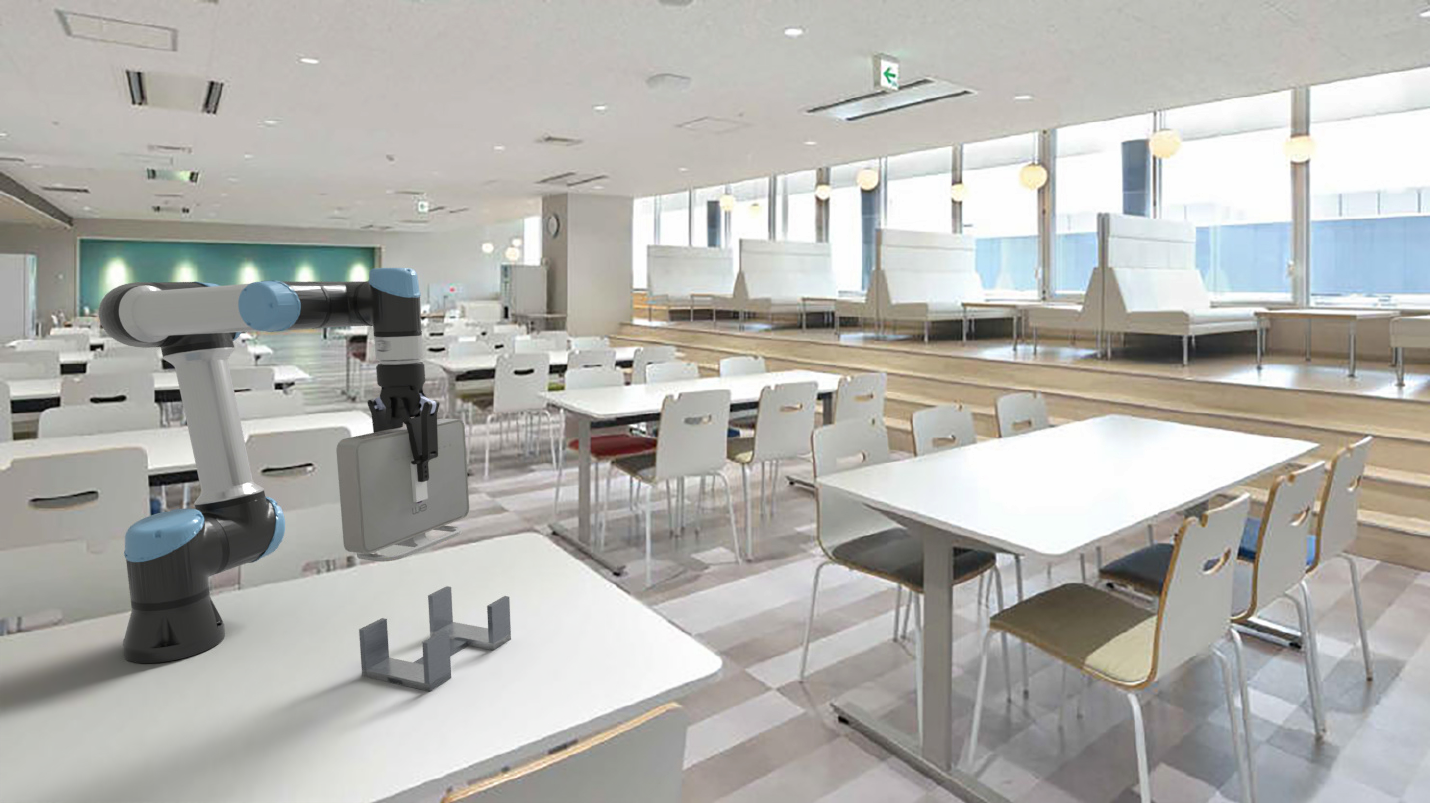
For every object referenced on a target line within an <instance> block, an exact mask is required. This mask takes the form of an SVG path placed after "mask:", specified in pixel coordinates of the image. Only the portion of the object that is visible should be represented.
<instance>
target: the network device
mask: <svg viewBox="0 0 1430 803" xmlns="http://www.w3.org/2000/svg"><path fill="white" fill-rule="evenodd" d="M437 433H438V457H437V458H434V459H431V460H429V462H428V468H429V480H428V481H427V493H428V499H425V500H422V501H419V502H413V494H412V480H411V466H410V464H412V463H411V461H414V458H413V453H412V449H411V445H410V440H409V433H408V430H407V427H406V425H403V427H401V428H396V429H389V430H384V431H380V432H375V433H374V432H372V433H366V434H365V433H364V434H360V435H356V436H351V437H347V438H343V439H341V440H339V442H338V443H337V445H336V462H337V464H336V465H337V473H338V488H339V501H340V503H339V504H340V511H341V512H340V514H341V524H342V525H341V526H342V538H343V539H342V540H343V541H342V542H343V547H344V549H345V551H347V552H349V553H356V558H357V559H359V560H366V561H373V562H392V561H393V562H394V561H398V560H402V559H404V558H407V557H409V556H412V555H414V554H416V553H419V552H422V551H424V550H426V549H428V548H431V547H434V546H436V545H438V544H441V543H443V542H446V541H449V540H451V539H453V538H455V537H458V536H460V535H461V534H462V532H463V531H462V528H461V527H459V526H452V525H451V526H450V525H449V524H452V523H454V522H457V521H460V520H463V519H465V518H467V516H468V515H469V512H470V495H469V493H470V492H469V479H468V462H467V460H468V459H467V444H466V426H465V423H464V421H463V420H462V419H460V418H458V419H456V418H439V419H438V418H437ZM421 455H422V454H421ZM430 531H442V532H449V533H446V534H445V535H442V536H439V537H436V538H428V537H427V536H426V533H429V532H430ZM392 546H402V547H411V548H410V549H409V548H408V549H406V550H404V551H402V552H399V553H397V554H392V555H384V554H383V555H382V554H377V553H376V552H378V551H381V550H384V549H386V548H389V547H392ZM374 553H375V554H374Z"/></svg>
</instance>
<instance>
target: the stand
mask: <svg viewBox="0 0 1430 803" xmlns="http://www.w3.org/2000/svg"><path fill="white" fill-rule="evenodd" d="M427 598H428V600H427V602H428V622H429V638H428V639H426V640H424V641H422V642H421V644H422V646H421V647H422V657H420V658H418V659H416V660H415V661H413V662H412V661H408V660H403V659H400V658H399V659H398V658H394V657H390V650H389V632H388V618H384V617H382V618H380V619H377V620H375V621H374V622H371V623H369V624H367V625H366V626H363V627H361V628H359V629H358V636H359V637H358V638H359V647H360V649H359V650H360V664H361V677H365V678H370V679H374V680H378V681H382V682H387V683H390V684H391V683H392V684H396V685H400V686H403V687H404V686H405V687H409V688H413V689H417V690H421V691H427V692H431V691H433V690H434V689H437V688H438V687H439V686H441V685H442V684H444V683H446V681H448V680H450V679H452V666H451V665H452V664H451V663H452V662H451V656H453V655H455V654H456V653H459V651H461V650H463V649H465V648H466V647H467V646H471V647H475V648H480V649H485V650H486V649H487V650H491V651H496V649H498V648H500V647H502V646H503V645H504V644H505V643H507V642H509V641H510V640H512V633H511V632H512V630H511V629H512V628H511V602H510V596H507V595H504V596H502V597H500V598H499V599H497V600H494V601H493V602H491V603H490V604H488V605H487V606H486V608H487V611H486V612H487V627H482V626H477V625H472V624H467V623H461V622H456V621H454V616H453V615H454V614H453V599H452V598H453V597H452V587H451V586H448V585H446V586H444V587H442V588H441V589H438V590H436V591H434V592H432V593H430V594H428V595H427Z"/></svg>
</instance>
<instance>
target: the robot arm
mask: <svg viewBox="0 0 1430 803" xmlns="http://www.w3.org/2000/svg"><path fill="white" fill-rule="evenodd" d="M368 274H369V275H368V276H369V279H368V280H367V281H341V280H338V281H293V280H292V281H283V280H261V281H253V282H250V283H241V284H228V285H220V284H217V283H212V282H211V283H210V282H201V281H200V282H199V281H196V280H195V281H173V282H172V281H171V282H170V281H169V282H168V281H164V282H162V281H161V282H160V281H156V282H150V281H135V282H131V283H130V282H129V283H128V282H127V283H124V284H122V285H119V286H116V287H114V288H112V289H111V290H110V291H108V292H107V293H106V294H104V297H103V298H102V299H101V301H100V303H99V307H98V318H99V322H100V325H101V327H102V328H103V329H104V332H105V333H106V334H107V335H109V337H111V339H113V340H115V341H116V342H118V343H120V344H123V345H126V346H128V347H135V348H143V349H144V348H145V349H147V348H151V349H152V348H160V351H161V355H162V359H163V360H164V361H166V362H167V363H169V364H171V365H172V366H173V367H174V369H175V374H176V377H177V378H176V379H177V382H178V388H179V393H180V397H181V403H182V406H183V411H184V416H185V420H186V425H187V430H188V434H189V439H190V443H191V448H192V449H191V450H192V453H193V457H194V458H193V459H194V461H195V462H194V463H195V467H196V472H197V476H198V481H199V485H200V490H201V491H200V494H199V496H198V497H197V498H196V499H195V501H194V503H193V504H194V508H176V509H172V510H170V511H161V512H158V513H154V514H150V515H149V516H145V517H143V518H142V519H139V520H137V521H136V522H134V523H132V524H131V525H130V527H128V529H126V532H125V533H124V553H123V555H124V557H125V561H126V570H127V581H128V589H129V598H130V605H131V606H130V608H131V611H130V615H129V619H128V623H127V626H126V630H125V633H124V634H125V635H124V638H123V641H122V651H123V652H122V653H123V656H124V659H125V660H127V661H129V662H131V663H136V664H138V663H139V664H157V663H165V662H172V661H175V660H177V661H178V660H181V659H185V658H189V657H192V656H196V655H198V654H200V653H203V652H206V651H208V650H210V649H212V648H214V647H216V646H217V645H219V644H220V643H221V642H222V641H223V640H224V639H225V636H226V632H225V623H224V621H223V619H222V616H221V615H220V613H219V611H218V609H217V607H216V605H215V603H214V601H213V599H212V597H211V593H210V582H209V581H210V579H209V578H210V577H212V576H215V575H217V574H221V573H223V572H227V571H229V570H232V569H235V568H238V567H240V566H243V565H246V564H250V563H251V564H252V563H256V562H257V561H259V560H261V559H263V558H265V557H267V556H269V555H271V554H273V553H274V552H275V551H277V550H278V549H279V546H280V544H281V543H282V542H283V539H284V537H285V531H286V519H285V515H284V514H285V513H284V511H283V509H282V507H281V506H280V505H278V502H277V501H276V500H275V499H274V498H272V497H269V496H266V494H265V488H264V487H262V486H260V485H258V483H257V484H256V482H254V478H253V475H252V471H251V470H252V469H251V464H250V460H249V456H248V451H247V446H246V442H245V437H244V436H245V435H244V433H243V432H244V431H243V426H242V421H241V416H240V413H239V412H240V411H239V408H238V403H237V398H236V393H235V389H234V385H233V379H232V376H231V375H232V373H231V369H230V366H229V357H230V356H231V355H232V354H233V353H234V351H235V344H234V341H236V340H237V339H238V338H239V337H240V335H241V334H242V333H247V332H248V333H249V332H266V333H267V332H271V333H272V332H273V333H274V332H283V331H293V330H294V331H295V330H304V329H306V330H309V329H312V330H313V329H328V328H329V329H331V328H346V327H372V330H373V338H374V339H373V342H374V354H375V360H376V361H377V362H379V363H378V364H377V365H376V367H375V370H376V384H377V386H379V387H380V388H381V389H380V393H379V396H378V397H376V398H373V399H369V400H367V406H368V409H369V412H370V414H371V421H372V422H371V423H372V430H373V431H372V433H375V432H380V431H384V430H389V429H396V428H401V427H404V425H405V426H406V427H407V430H408V433H409V440H410V445H411V449H412V453H413V458H414V461H411V463H412V464H410V466H411V480H412V494H413V502H419V501H422V500H425V499H428V493H427V481H428V480H429V468H428V462H429V460H431V459H434V458H437V457H438V433H437V420H438V411H439V410H440V409H439V408H440V401H439V400H437V399H436V400H435V399H434V400H431V399H430V398H429V397H426V395H427V394H426V392H425V391H424V388H423V387H424V384H425V383H426V371H425V367H426V366H425V364H424V363H423V362H422V361H421V360H422V359H424V358H425V355H424V353H425V352H424V351H425V350H424V340H423V330H422V320H421V318H422V316H421V312H422V311H421V292H420V286H419V285H420V284H419V279H418V274H417V272H416V271H415V269H414V268H410V267H376V268H372V269H370V270H369V273H368ZM421 454H422V455H421Z"/></svg>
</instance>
